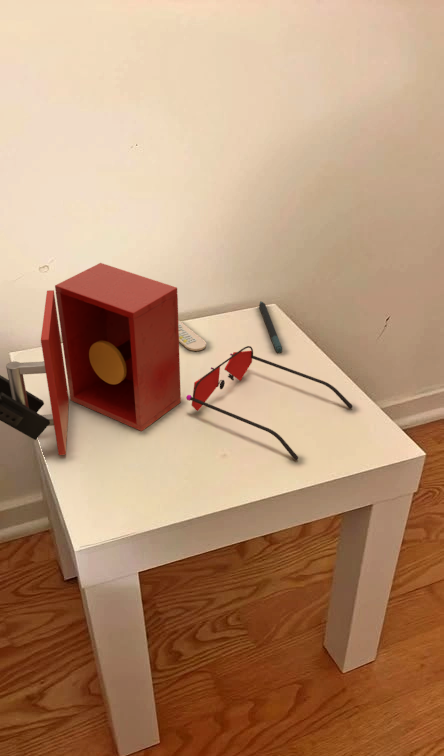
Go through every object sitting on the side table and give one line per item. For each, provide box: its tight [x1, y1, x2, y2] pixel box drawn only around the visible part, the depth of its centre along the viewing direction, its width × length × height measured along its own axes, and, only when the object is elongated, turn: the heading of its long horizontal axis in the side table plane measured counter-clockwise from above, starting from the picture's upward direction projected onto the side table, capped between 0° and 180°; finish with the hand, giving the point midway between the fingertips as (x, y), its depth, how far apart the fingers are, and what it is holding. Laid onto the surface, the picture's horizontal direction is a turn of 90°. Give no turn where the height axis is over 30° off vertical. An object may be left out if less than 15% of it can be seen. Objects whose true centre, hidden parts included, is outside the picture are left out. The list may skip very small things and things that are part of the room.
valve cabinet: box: [54, 262, 182, 432], centre depth 96 cm, size 8×12×16 cm, turn 55°
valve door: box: [5, 289, 70, 456], centre depth 91 cm, size 5×12×15 cm, turn 7°
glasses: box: [185, 345, 353, 461], centre depth 98 cm, size 14×16×5 cm
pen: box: [258, 300, 283, 354], centre depth 117 cm, size 1×16×1 cm, turn 7°
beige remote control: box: [178, 319, 207, 352], centre depth 114 cm, size 10×1×3 cm
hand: (39, 419), depth 91 cm, fingers open, 3 cm apart
